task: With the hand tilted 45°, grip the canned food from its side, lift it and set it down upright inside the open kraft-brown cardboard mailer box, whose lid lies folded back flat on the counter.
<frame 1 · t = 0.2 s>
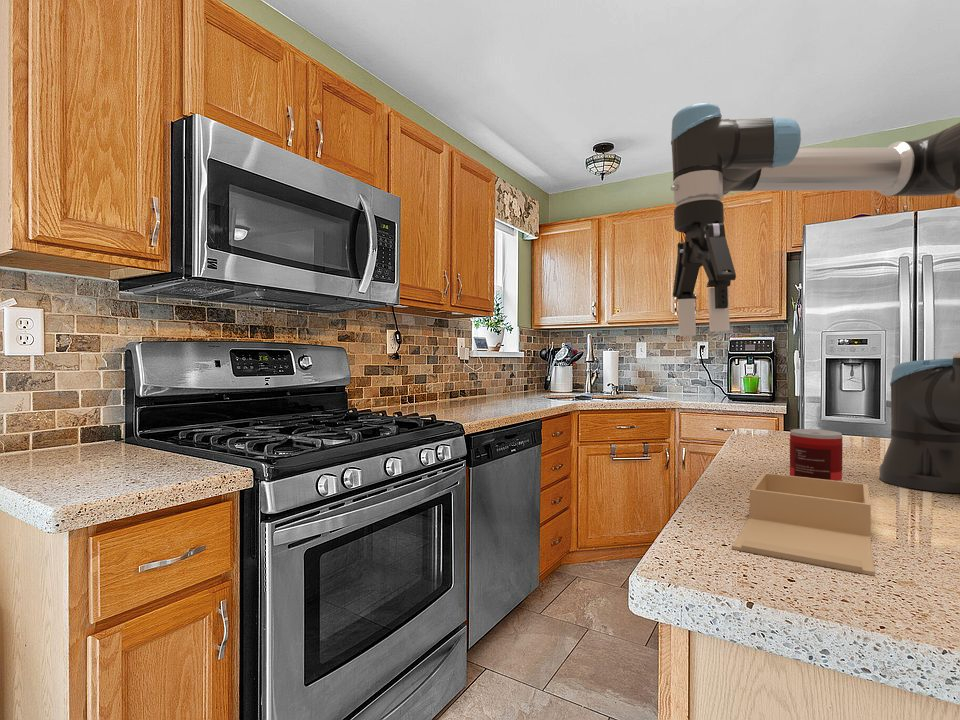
hand: (702, 334, 88), 27 cm above the worktop, tool pointing down, fingers open, 13 cm apart
canned food: (815, 496, 93), on the worktop
mailer box: (809, 517, 80), on the worktop
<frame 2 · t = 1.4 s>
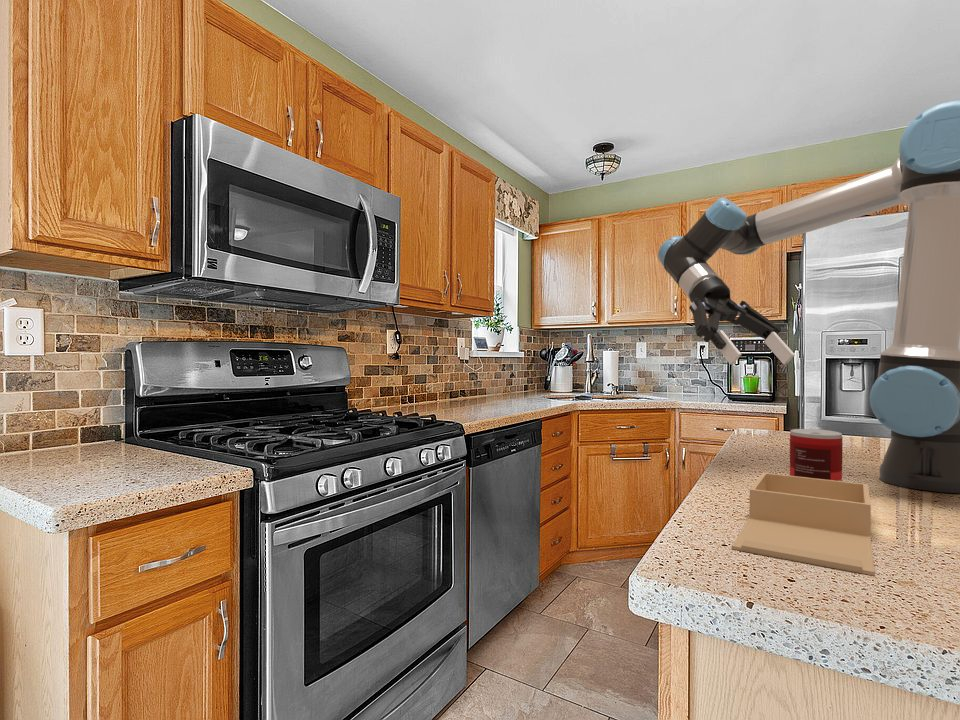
hand: (763, 359, 102), 23 cm above the worktop, tool tilted 45°, fingers open, 13 cm apart
nothing on the worktop moved.
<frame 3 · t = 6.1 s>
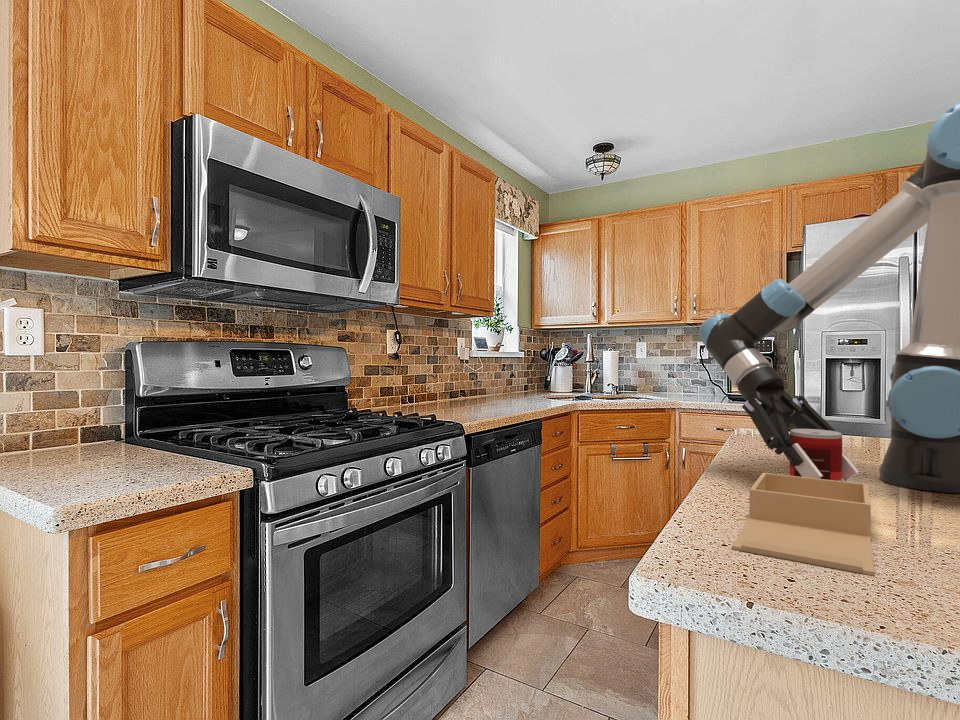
hand: (834, 478, 90), 4 cm above the worktop, tool tilted 45°, fingers closed on canned food, 8 cm apart
canned food: (814, 496, 93), on the worktop, touching gripper
when the fingers open (6 cm above the worktop, at t = 11.2 s): canned food drops 1 cm, resting on mailer box.
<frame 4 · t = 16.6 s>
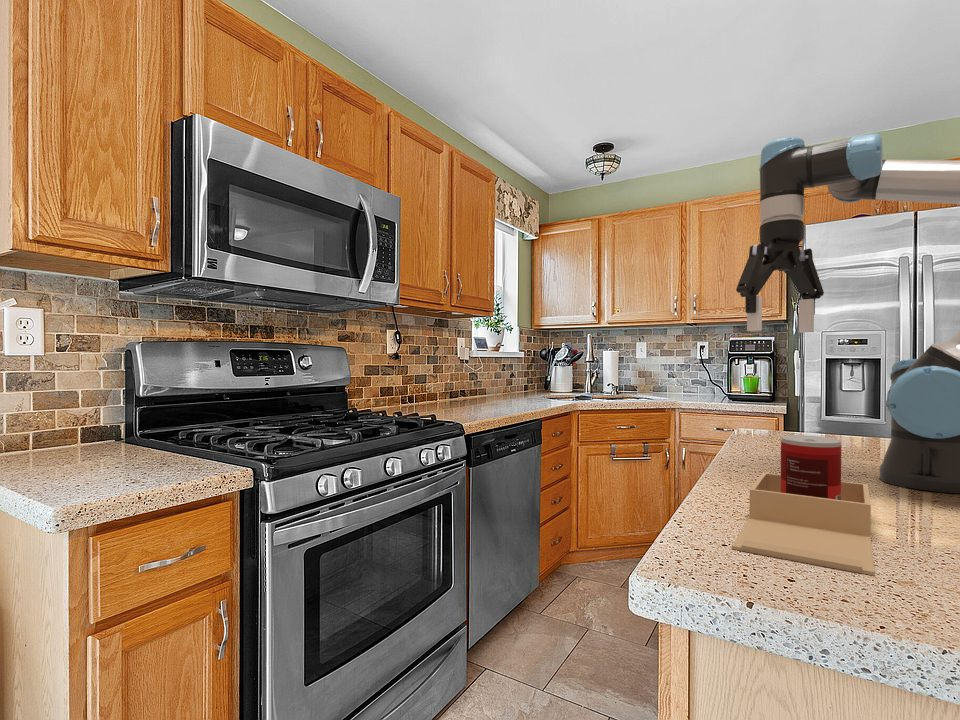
hand: (780, 331, 105), 29 cm above the worktop, tool pointing down, fingers open, 13 cm apart
canned food: (809, 514, 80), resting on mailer box
at the end: canned food inside the target area on the mailer box (0.2 cm from its centre), point 0.4 cm above the mailer box's base; canned food tilted 0°; the gripper is holding nothing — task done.
